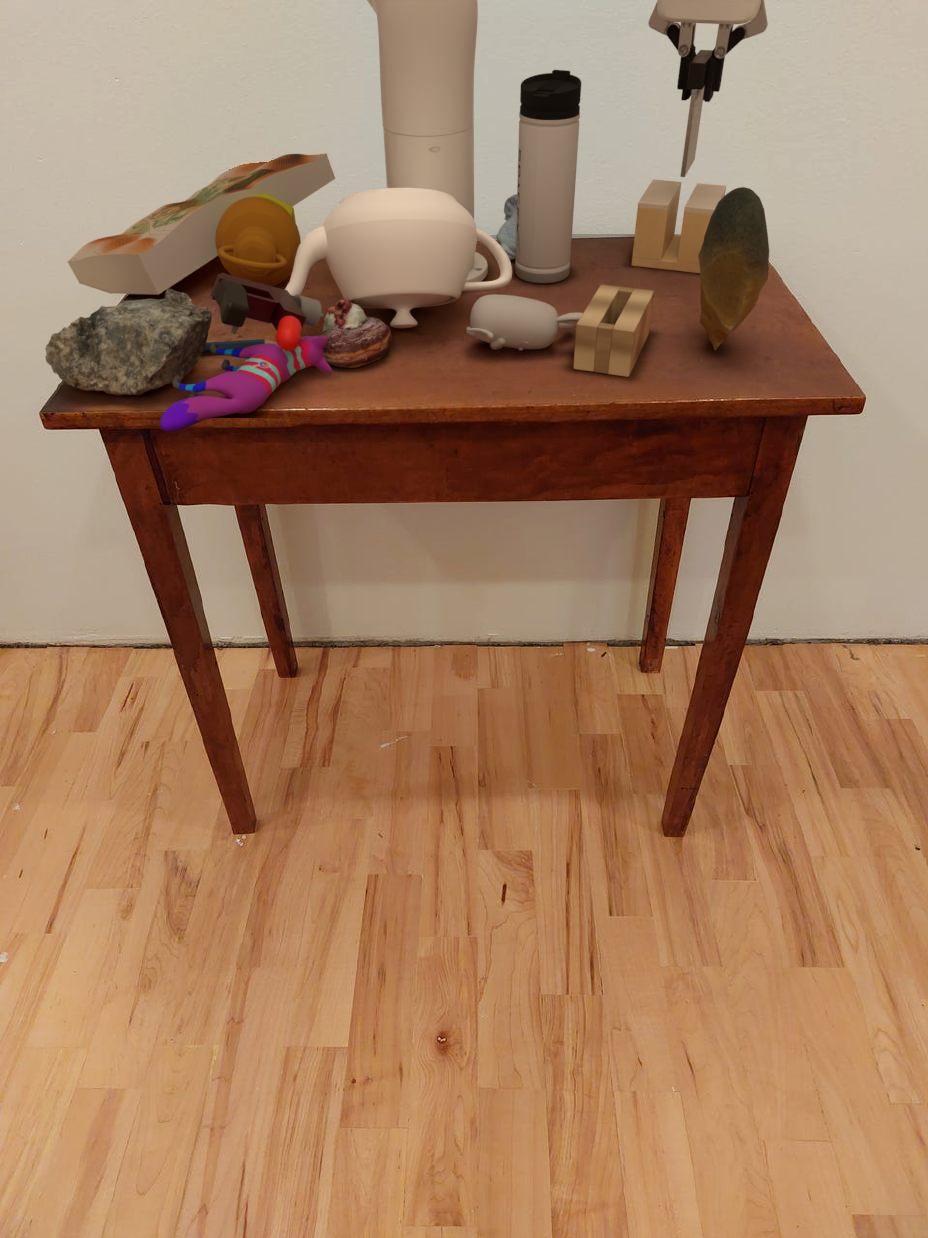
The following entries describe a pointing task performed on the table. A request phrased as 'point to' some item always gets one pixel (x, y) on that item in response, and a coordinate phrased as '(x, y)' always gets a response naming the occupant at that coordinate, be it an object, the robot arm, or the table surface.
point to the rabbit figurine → (517, 322)
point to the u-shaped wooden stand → (673, 226)
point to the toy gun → (265, 308)
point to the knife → (695, 106)
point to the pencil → (237, 344)
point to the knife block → (613, 330)
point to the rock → (131, 345)
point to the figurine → (509, 228)
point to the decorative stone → (732, 263)
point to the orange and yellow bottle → (258, 239)
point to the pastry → (353, 336)
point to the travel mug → (546, 175)
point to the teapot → (398, 251)
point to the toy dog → (243, 381)
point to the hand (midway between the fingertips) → (697, 96)
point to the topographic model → (191, 227)
